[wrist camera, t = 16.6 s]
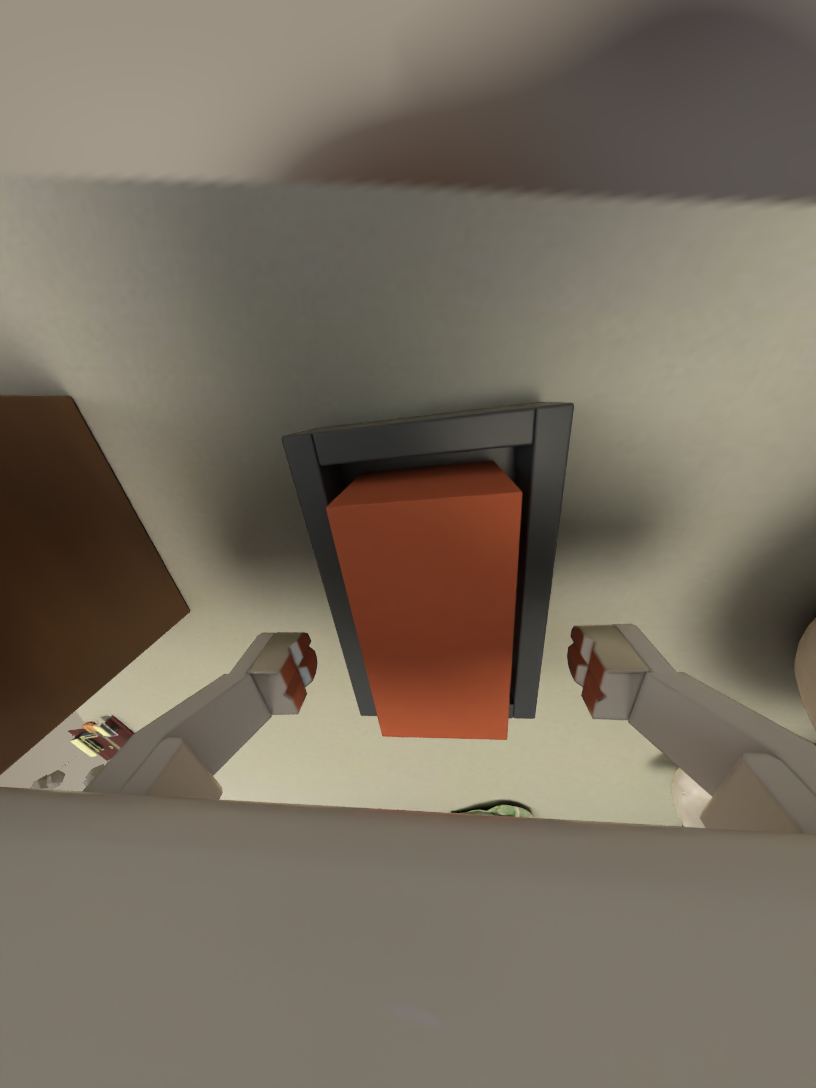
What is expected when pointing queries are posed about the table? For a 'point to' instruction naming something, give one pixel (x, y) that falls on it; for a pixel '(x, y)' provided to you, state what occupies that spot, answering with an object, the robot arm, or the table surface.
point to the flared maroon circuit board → (91, 748)
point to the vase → (807, 670)
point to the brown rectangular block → (67, 572)
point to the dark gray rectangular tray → (434, 440)
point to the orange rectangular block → (433, 594)
